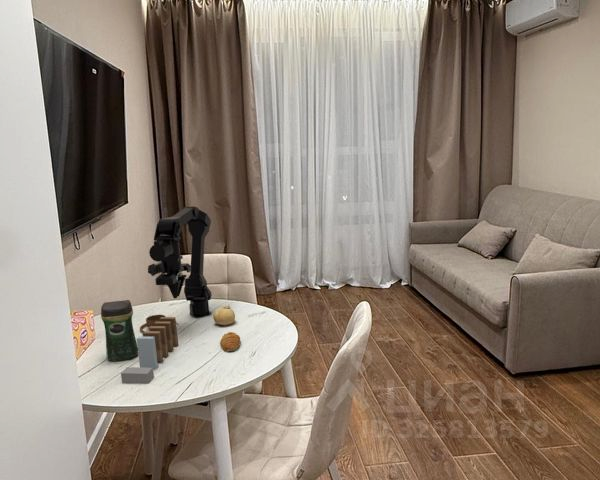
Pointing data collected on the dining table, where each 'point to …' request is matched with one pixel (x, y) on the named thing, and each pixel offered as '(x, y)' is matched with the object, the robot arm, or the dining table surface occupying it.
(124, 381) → the stop block
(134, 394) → the dining table surface
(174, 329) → the domino
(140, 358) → the domino
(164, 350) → the domino
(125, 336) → the coffee jar
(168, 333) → the domino
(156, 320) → the place setting
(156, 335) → the domino
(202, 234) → the robot arm
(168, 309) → the dining table surface
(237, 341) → the pastry
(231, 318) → the onion
